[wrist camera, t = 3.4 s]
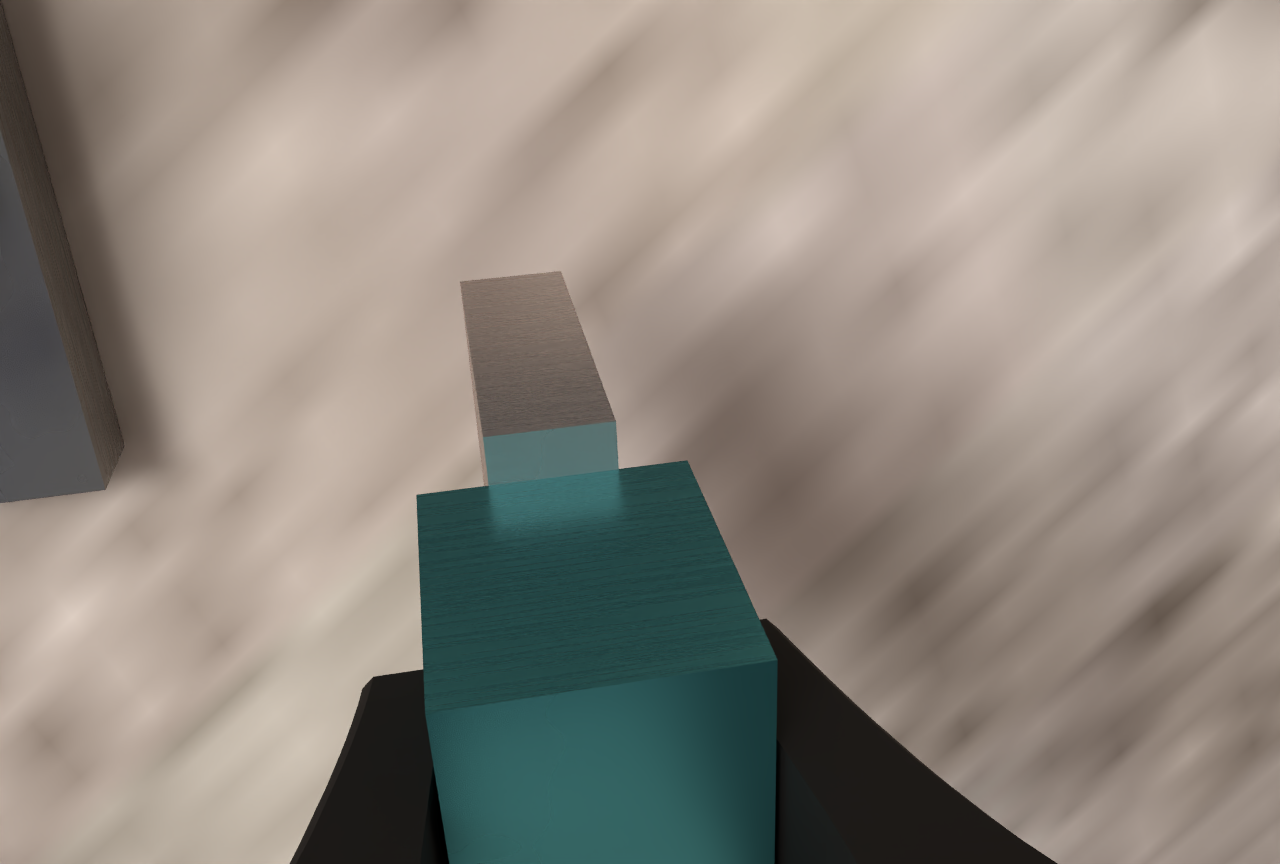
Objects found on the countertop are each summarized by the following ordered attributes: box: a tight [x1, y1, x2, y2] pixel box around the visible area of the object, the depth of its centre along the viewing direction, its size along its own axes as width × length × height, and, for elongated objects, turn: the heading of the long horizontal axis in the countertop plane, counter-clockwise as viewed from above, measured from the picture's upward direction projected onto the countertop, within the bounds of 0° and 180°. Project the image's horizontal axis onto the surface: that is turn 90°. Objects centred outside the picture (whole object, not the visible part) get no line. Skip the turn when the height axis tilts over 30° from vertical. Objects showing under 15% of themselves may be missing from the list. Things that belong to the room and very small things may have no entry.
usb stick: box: [417, 271, 778, 864], centre depth 13 cm, size 6×2×7 cm, turn 3°
